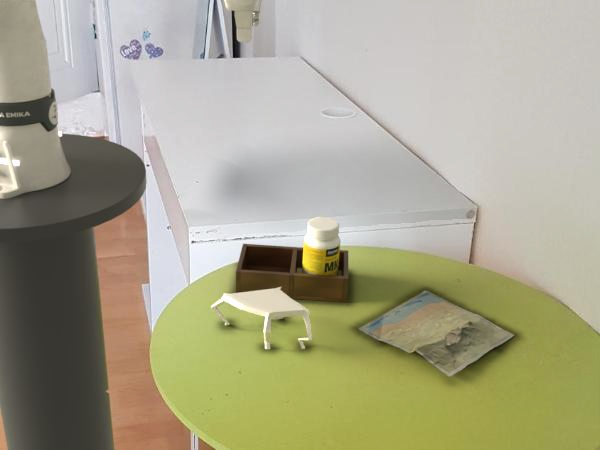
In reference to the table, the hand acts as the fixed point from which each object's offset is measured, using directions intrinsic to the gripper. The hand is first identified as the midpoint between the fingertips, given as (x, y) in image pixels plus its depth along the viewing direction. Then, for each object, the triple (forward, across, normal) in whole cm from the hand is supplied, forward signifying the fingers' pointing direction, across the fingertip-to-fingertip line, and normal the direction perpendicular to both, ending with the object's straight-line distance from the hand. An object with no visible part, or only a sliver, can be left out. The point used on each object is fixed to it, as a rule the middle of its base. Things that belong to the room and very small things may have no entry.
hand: (248, 32), depth 99 cm
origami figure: (+29, +26, +5) cm, 40 cm away
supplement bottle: (+29, +15, +11) cm, 34 cm away
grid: (+29, +15, +8) cm, 34 cm away
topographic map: (+29, +24, +26) cm, 46 cm away
